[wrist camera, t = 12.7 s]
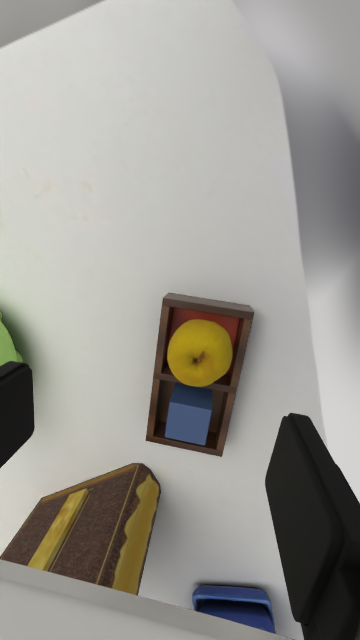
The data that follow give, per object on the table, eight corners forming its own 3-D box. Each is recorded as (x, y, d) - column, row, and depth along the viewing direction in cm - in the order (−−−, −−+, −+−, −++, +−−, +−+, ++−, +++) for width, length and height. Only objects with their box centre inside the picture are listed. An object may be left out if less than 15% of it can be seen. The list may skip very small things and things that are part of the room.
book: (139, 453, 35) (-22, 882, 11) (169, 499, 37) (84, 969, 13) (23, 498, 40) (-256, 858, 16) (53, 537, 42) (-163, 922, 18)
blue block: (212, 388, 31) (212, 410, 27) (206, 420, 32) (205, 446, 28) (175, 381, 31) (169, 402, 27) (171, 412, 32) (164, 437, 28)
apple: (221, 304, 28) (224, 323, 20) (236, 356, 29) (244, 394, 22) (166, 319, 29) (149, 343, 22) (183, 369, 30) (173, 408, 23)
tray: (168, 292, 29) (162, 297, 26) (249, 305, 28) (254, 312, 25) (152, 422, 34) (145, 440, 30) (221, 436, 33) (221, 457, 30)
